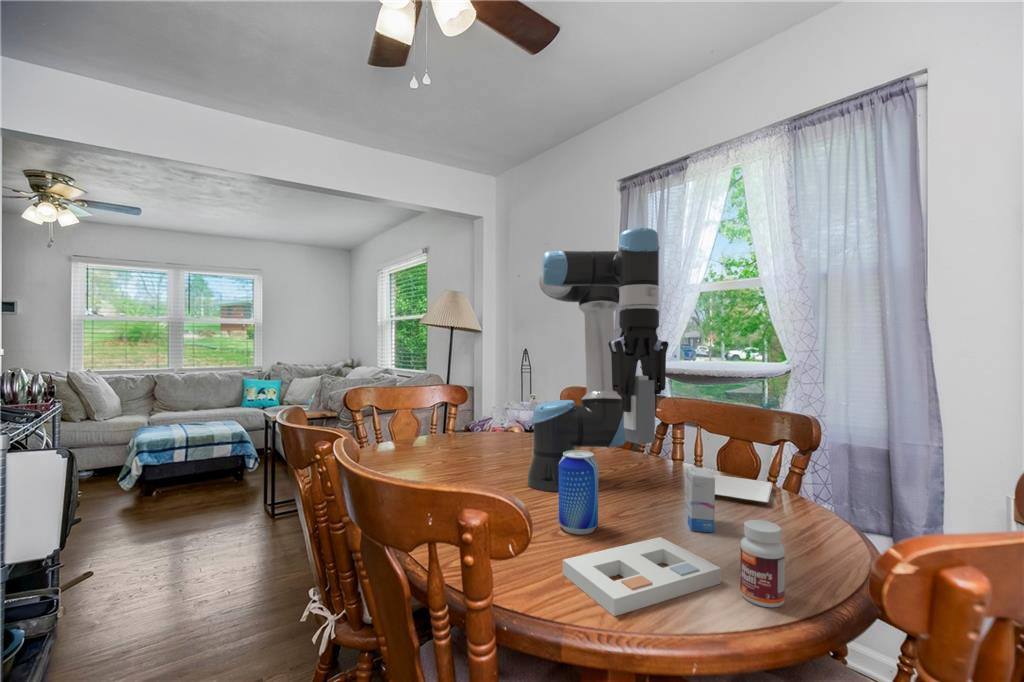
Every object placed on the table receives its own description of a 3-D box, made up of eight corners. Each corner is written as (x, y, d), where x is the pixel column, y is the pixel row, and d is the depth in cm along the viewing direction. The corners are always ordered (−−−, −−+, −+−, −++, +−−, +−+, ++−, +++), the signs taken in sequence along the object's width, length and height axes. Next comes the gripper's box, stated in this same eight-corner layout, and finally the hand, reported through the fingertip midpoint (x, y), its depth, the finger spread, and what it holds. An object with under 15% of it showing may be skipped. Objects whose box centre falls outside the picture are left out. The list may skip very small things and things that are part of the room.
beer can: (602, 524, 104) (602, 451, 104) (592, 538, 96) (592, 459, 96) (565, 518, 107) (565, 447, 107) (553, 531, 100) (553, 455, 100)
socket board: (562, 574, 81) (562, 557, 81) (660, 550, 91) (660, 535, 91) (614, 616, 69) (614, 597, 69) (721, 583, 78) (721, 566, 78)
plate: (772, 489, 130) (772, 482, 130) (768, 510, 114) (768, 501, 114) (700, 479, 140) (700, 472, 140) (687, 496, 124) (687, 488, 124)
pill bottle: (735, 599, 73) (735, 526, 73) (746, 584, 78) (746, 515, 78) (780, 614, 69) (780, 536, 69) (788, 596, 74) (788, 524, 74)
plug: (624, 440, 93) (624, 375, 94) (640, 438, 95) (640, 375, 95) (638, 444, 90) (638, 376, 90) (654, 442, 92) (654, 376, 92)
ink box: (715, 533, 99) (715, 476, 99) (690, 531, 100) (690, 475, 100) (707, 518, 107) (707, 466, 107) (684, 517, 108) (684, 465, 108)
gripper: (617, 305, 86) (617, 434, 85) (685, 309, 94) (685, 427, 93) (592, 308, 93) (592, 428, 92) (657, 311, 100) (658, 422, 100)
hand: (639, 427), depth 93 cm, fingers closed on plug, 4 cm apart
